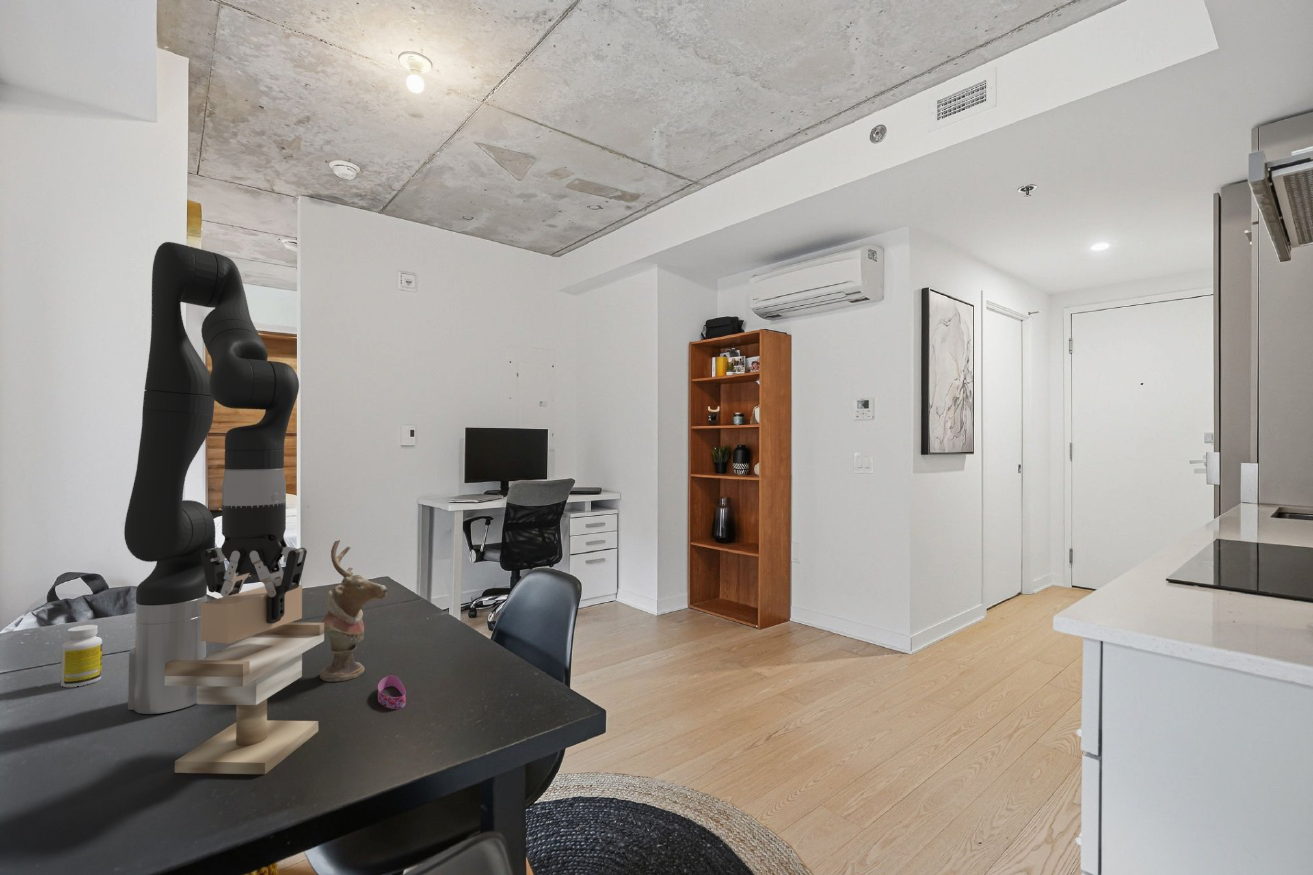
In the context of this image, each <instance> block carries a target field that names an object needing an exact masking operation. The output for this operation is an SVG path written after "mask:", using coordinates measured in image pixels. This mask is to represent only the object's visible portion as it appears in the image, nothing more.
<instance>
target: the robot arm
mask: <svg viewBox="0 0 1313 875" xmlns="http://www.w3.org/2000/svg"><path fill="white" fill-rule="evenodd" d="M151 274H152V275H151V321H150V322H151V326H150V328H151V329H150V342H149V344H150V345H149V354H148V360H147V361H148V362H147V369H146V375H145V376H146V377H145V383H144V384H145V385H144V391H143V399H142V413H141V414H142V416H141V417H142V420H141V431H140V440H139V448H138V455H137V456H138V457H137V464H136V470H135V474H134V475H135V476H134V482H133V485H132V490H131V495H130V498H129V503H128V507H127V511H126V517H125V523H124V528H123V529H124V532H123V534H124V541H125V545H126V547H127V549H128V551H129V553H130V554H131V555H132V556H133V557H135V558H136V559H137V560H139V561H142V562H147V563H152V562H153V563H154V562H156V564H155V566H154V568H153V569H152V572H150V574H149V575H148V576H147V577H146V578H145V579H144V580H142V581H141V582H140V583H139V584H138V585H137V587H136V590H135V591H136V593H135V638H134V639H135V647H133V648H131V649H130V650H129V651H128V678H127V679H128V685H127V686H128V688H127V689H128V690H127V692H128V693H127V694H128V696H127V697H128V698H127V709H128V710H131V711H132V710H133V711H134V712H135V713H138V714H141V715H142V714H143V715H154V714H163V713H168V712H174V711H177V710H178V711H179V710H182V709H184V708H185V709H186V708H189V707H190V706H193V705H196V704H197V686H165V663H166V662H169V661H171V660H201V659H203V658H205V657H207V642H206V641H201V603H203V602H207V601H208V600H207V597H208V596H207V595H208V594H207V593H208V591H209V593H217V594H220V595H221V596H222V597H226V596H230V595H233V594H237V593H241V591H242V590H243V585H244V583H245V580H247V579H248V577H249V575H250V574H252V575H257V576H258V579H259V582H260V583H262V584H263V585H264V586H265V588H266V591H267V594H268V596H270V597H267V623H268V624H273V623H276V622H278V621H280V620H281V617H283V616H284V613H285V594H286V592H288V591H291V590H293V589H296V588H298V587H299V584H300V585H301V579H302V574H303V571H304V567H305V562H306V561H305V560H306V558H307V554H308V551H307V549H306V547H303V546H302V547H299V548H295V547H291V546H288V545H287V543H286V541H285V533H286V526H287V525H286V524H287V523H286V519H287V517H286V516H287V511H286V510H287V506H286V505H287V504H286V502H287V500H286V499H287V483H286V482H287V481H286V476H285V469H284V468H285V440H286V439H285V438H286V435H287V430H288V427H289V423H290V419H291V416H292V412H293V410H294V406H295V404H296V401H297V398H298V395H299V391H300V390H299V389H300V382H299V376H298V374H297V373H296V371H295V369H294V368H293V367H292V366H291V365H290V364H288V363H286V362H282V361H274V360H268V356H269V355H268V354H269V353H268V350H267V347H266V345H265V343H264V341H263V339H262V337H261V336H260V334H259V332H258V330H257V329H256V328H257V327H255V324H254V323H253V320H252V317H251V314H250V310H249V305H248V300H247V296H246V292H245V288H244V284H243V280H242V277H241V273H240V270H239V268H238V265H236V263H235V262H234V261H233V259H231V258H230V257H228V256H226V255H223V254H220V253H217V252H213V251H208V250H205V249H201V248H197V247H194V246H189V245H187V244H181V243H177V242H173V241H172V242H171V241H165V242H163V243H161V244H160V245H159V246H158V248H157V250H156V252H155V254H154V259H153V263H152V272H151ZM181 303H185V304H188V305H195V306H200V307H204V308H210V309H211V308H213V309H212V310H211V311H210V312H208V314H206V316H205V318H204V320H203V321H202V325H201V330H200V331H201V338H202V341H203V344H204V346H205V349H206V351H207V352H208V355H209V357H210V359H211V372H210V371H209V369H208V368H207V365H206V364H205V363H204V361H203V360H202V358H201V356H200V355H199V354H198V352H197V350H196V349H195V347H194V345H193V343H192V342H191V339H190V338H189V336H188V334H187V331H186V329H185V325H184V320H183V316H182V308H181V307H182V306H181ZM215 403H218V404H219V405H220V406H223V407H225V408H227V409H228V408H229V409H233V410H234V409H236V410H237V409H238V410H240V409H241V410H261V411H263V410H265V411H264V415H263V417H262V418H261V419H260V420H259V422H256V423H254V424H249V425H243V426H241V425H240V426H237V427H233V428H230V429H229V430H227V431H226V434H225V436H224V474H223V481H222V486H221V488H222V489H221V496H222V497H221V500H222V501H221V535H222V536H224V541H223V543H222V545H221V547H216V523H215V518H214V517H213V514H212V512H211V511H210V509H209V508H208V506H207V505H205V504H203V503H202V502H199V501H196V500H191V499H190V500H189V499H187V500H186V499H184V498H183V497H184V488H185V481H186V478H187V474H188V470H189V468H190V466H191V464H192V462H193V461H194V458H196V455H197V454H198V452H199V451H200V449H201V447H202V445H203V444H204V442H205V440H207V436H208V435H209V433H210V430H211V429H212V425H213V420H214V412H215V411H214V409H215ZM183 499H184V500H183ZM283 557H284V558H283ZM282 558H283V562H284V563H285V566H284V569H283V567H282V565H281V559H282ZM225 560H227V562H228V564H227V565H228V566H227V567H226V565H225ZM270 572H271V573H270Z"/></svg>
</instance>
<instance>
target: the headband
mask: <svg viewBox="0 0 1313 875" xmlns="http://www.w3.org/2000/svg"><path fill="white" fill-rule="evenodd" d="M387 687H394V688H396V689H397V690H398V691H399V692H400V694H401V695H402V696H389V695H386V694H384V693H383V692H382V691H383V690H384V689H386V688H387ZM406 693H407V692H406V688H405V686H404V685H403V683H402V681H401V679H399V677H397V676H396V675H387V676H385V677H383V678H382V679H381V680H380V681H379V683H378V684H377V702H378V703H379V704H380V705H382V706H383V707H385V708H388V709H394V710H395V709H396V710H397V709H403V708H404V707H405V706H406V700H407V699H406V696H407V695H406Z"/></svg>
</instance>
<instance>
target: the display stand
mask: <svg viewBox="0 0 1313 875" xmlns="http://www.w3.org/2000/svg"><path fill="white" fill-rule="evenodd" d="M324 641H325V633H324V623H321V622H303V621H302V622H299V621H298V622H295V621H292V622H290V623H287V624H284V625H281V626H278V627H275V628H272V629H269V630H266V631H263V632H260V633H258V634H255V635H252V636H249V637H246V638H244V639H242V640H241V641H240V640H239V641H238V642H235V643H234V644H232V645H230V646H228V647H226V648H223V649H220V650H219V651H217V652H214V653H212V654H210V655H208V656H207V655H206V657H205V658H203V659H201V660H171V661H169V662H166V663H165V686H197V703H196V705H219V706H221V705H224V706H225V705H228V706H229V705H230V706H231V705H232V706H236V708H235V709H236V711H235V712H236V715H235V718H236V719H235V721H236V722H234V723H233V724H231V725H229V726H228V727H226V728H224V729H222V731H220V732H218V733H217V734H215V735H213V736H212V737H209V739H207V740H206V741H204V742H203V743H201V744H200V745H198V746H195V747H194V748H193V749H192V750H190V751H189V752H187V753H186V754H184V755H183V756H181V757H179V758H177V759H176V760H175V761H174V773H176V774H181V773H182V774H222V775H223V774H225V775H227V774H228V775H230V774H231V775H232V774H233V775H266V774H267V773H269V772H270V771H271V770H273V769H274V768H275V767H276V766H277V765H279V764H280V763H281V762H282V761H283V760H285V759H286V758H287V757H288V756H290V755H291V754H292V753H293V752H295V751H296V750H297V749H299V748H300V747H301V746H302V745H303V744H305V743H306V742H307V741H309V740H310V739H311V738H312V737H313V736H315V735H316V734H317V733H318V732H319V721H318V720H268V698H270V697H272V696H273V695H275V694H277V692H280V691H281V690H283V689H284V688H286V687H288V686H289V685H290V684H292V683H294V682H296V681H297V680H299V679H300V678H302V677H303V654H304V653H306V652H307V651H309V650H311V649H313V648H315V646H317V645H319V644H321V643H323V642H324Z"/></svg>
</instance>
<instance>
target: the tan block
mask: <svg viewBox="0 0 1313 875" xmlns="http://www.w3.org/2000/svg"><path fill="white" fill-rule="evenodd" d="M267 597H270V596H268V594H267V591H266V588H265V585H264V586H260V587H257V588H253V589H250V590H246V591H242V592H241V591H240V592H239V593H237V594H233V595H230V596H226V597H223V596H222V597H218V598H215V599H211V600H207V602H203V603H201V641H206V643H207V642H208V643H219V644H227V645H228V644H231V643H234V642H237V641H240V640H244V639H247V638H249V637H251V636H254V635H255V634H258V633H260V632H263V631H266V630H269V629H272V628H275V627H278V626H281V625H284V624H287V623H290V622H295V621H298V620H301V619H302V618H303V584H301V583H300V584H299V587H298V588H296V589H293V590H291V591H288V592H286V594H285V613H284V616H283V617H281V620H280V621H278V622H276V623H273V624H268V623H267Z"/></svg>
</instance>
